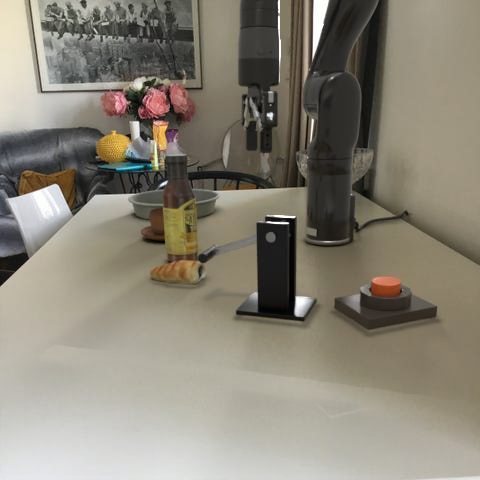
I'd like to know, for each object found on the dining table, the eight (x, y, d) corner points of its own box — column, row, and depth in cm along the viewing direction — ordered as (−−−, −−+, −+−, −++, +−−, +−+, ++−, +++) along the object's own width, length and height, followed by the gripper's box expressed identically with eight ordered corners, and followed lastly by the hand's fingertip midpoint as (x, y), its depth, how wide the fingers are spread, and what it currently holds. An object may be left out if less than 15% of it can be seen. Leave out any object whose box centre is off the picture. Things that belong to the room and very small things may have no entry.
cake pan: (218, 220, 142) (217, 202, 140) (121, 223, 143) (119, 205, 141) (222, 202, 165) (221, 186, 163) (138, 204, 165) (137, 189, 164)
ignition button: (389, 286, 82) (389, 275, 81) (406, 295, 78) (407, 283, 78) (365, 290, 80) (365, 278, 80) (381, 299, 77) (382, 287, 76)
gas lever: (201, 267, 82) (195, 252, 81) (215, 257, 87) (209, 242, 86) (283, 242, 76) (277, 225, 76) (293, 232, 81) (288, 217, 80)
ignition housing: (397, 300, 86) (399, 275, 85) (436, 321, 79) (439, 293, 77) (333, 312, 83) (334, 286, 81) (368, 334, 75) (370, 306, 73)
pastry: (145, 286, 96) (143, 264, 95) (158, 274, 102) (157, 254, 101) (198, 289, 94) (197, 266, 93) (209, 276, 100) (208, 255, 99)
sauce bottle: (193, 265, 107) (187, 156, 99) (162, 264, 108) (153, 156, 100) (202, 256, 113) (197, 152, 105) (172, 255, 114) (165, 152, 106)
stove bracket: (236, 318, 82) (232, 224, 76) (253, 300, 88) (251, 212, 83) (303, 326, 78) (305, 227, 73) (316, 306, 85) (318, 215, 80)
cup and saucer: (131, 242, 124) (128, 214, 122) (158, 230, 135) (156, 204, 132) (179, 246, 120) (177, 217, 118) (203, 233, 130) (202, 206, 128)
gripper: (293, 54, 96) (290, 153, 102) (265, 61, 109) (264, 149, 114) (250, 53, 94) (250, 154, 100) (228, 60, 107) (229, 150, 112)
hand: (258, 151), depth 107 cm, fingers open, 8 cm apart
